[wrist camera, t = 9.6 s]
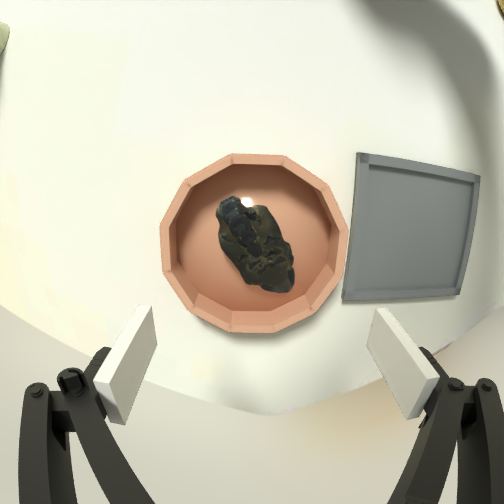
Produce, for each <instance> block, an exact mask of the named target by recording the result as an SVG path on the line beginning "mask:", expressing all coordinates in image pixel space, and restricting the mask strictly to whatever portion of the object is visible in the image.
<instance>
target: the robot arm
mask: <svg viewBox="0 0 504 504" xmlns="http://www.w3.org/2000/svg"><path fill="white" fill-rule="evenodd" d="M156 346H157V340H156V334H155V327H154V321H153V314H152V306H148V305H139V306H138V307H137V309H136V311H135V312H134V314H133V315H132V317H131V318H130V320H129V322H128V323H127V325H126V326H125V328H124V329H123V331H122V333H121V334H120V336H119V337H118V339H117V341H116V342H115V344H114V346H113V347H112V348H109V347H103V348H102V349H100V350H99V351H98V352H97V353H96V354H95V356H94V357H93V360H91V362H90V364H89V365H88V367H87V368H86V370H85V371H84V373H83V371H82V370H80V369H78V368H67V369H65V370H63V371H62V372H60V373H59V374H58V376H57V382H58V385H59V387H60V389H61V391H50V390H49V388H48V387H47V385H46V384H44V383H33V384H32V385H30V386H28V387H27V389H26V391H25V395H24V401H23V408H22V418H21V427H20V439H19V462H18V465H19V466H18V474H19V475H18V478H19V479H18V481H19V503H20V504H78V503H77V498H76V493H75V487H74V480H73V473H72V465H71V455H70V443H69V432H76V433H77V435H78V438H79V440H80V443H81V445H82V448H83V450H84V452H85V455H86V457H87V459H88V461H89V464H90V466H91V468H92V470H93V472H94V474H95V476H96V478H97V480H98V482H99V484H100V486H101V488H102V490H103V491H104V493H105V495H106V497H107V499H108V501H109V502H110V504H155V503H154V501H153V500H152V499H151V497H150V496H149V494H148V493H147V492H146V490H145V489H144V487H143V486H142V484H141V483H140V481H139V480H138V478H137V477H136V475H135V473H134V472H133V470H132V469H131V467H130V466H129V464H128V462H127V460H126V459H125V457H124V455H123V454H122V452H121V450H120V448H119V447H118V445H117V443H116V441H115V440H114V438H113V436H112V434H111V432H110V430H109V428H108V426H107V424H106V422H105V418H106V415H107V416H108V418H109V420H110V422H112V423H116V424H121V425H125V424H126V421H127V419H128V416H129V413H130V411H131V408H132V406H133V403H134V401H135V398H136V395H137V393H138V390H139V388H140V385H141V383H142V380H143V378H144V375H145V373H146V370H147V368H148V366H149V363H150V361H151V358H152V356H153V353H154V351H155V349H156ZM366 346H367V348H368V350H369V351H370V353H371V355H372V357H373V358H374V360H375V362H376V364H377V366H378V367H379V369H380V371H381V373H382V375H383V377H384V378H385V380H386V382H387V384H388V386H389V388H390V389H391V391H392V393H393V395H394V397H395V399H396V401H397V403H398V405H399V407H400V408H401V410H402V412H403V414H404V416H405V418H406V420H409V419H413V418H417V417H419V416H420V414H421V412H422V411H423V409H424V410H425V412H426V416H425V417H424V419H423V421H422V423H421V424H420V426H419V428H420V431H419V434H418V436H417V439H416V442H415V444H414V447H413V449H412V452H411V455H410V457H409V459H408V461H407V464H406V466H405V468H404V471H403V473H402V475H401V477H400V479H399V482H398V483H397V485H396V488H395V490H394V491H393V493H392V495H391V498H390V499H389V501H388V503H387V504H438V502H439V499H440V496H441V493H442V490H443V488H444V485H445V481H446V478H447V475H448V472H449V468H450V465H451V461H452V457H453V454H454V449H455V446H456V441H457V445H458V488H457V504H504V412H503V408H502V404H501V400H500V396H499V393H498V390H497V386H496V384H495V383H494V382H493V381H492V380H490V379H487V378H481V379H479V380H478V382H477V384H476V385H475V386H465V385H464V383H463V382H462V381H461V380H458V379H457V378H449V376H448V375H447V374H446V373H445V371H444V370H443V369H442V367H441V366H440V365H439V363H437V361H436V359H435V358H434V357H433V356H432V354H431V353H430V352H429V351H428V350H426V349H425V348H423V347H417V345H416V344H415V343H414V341H413V340H412V339H411V338H410V336H409V335H408V334H407V333H406V331H405V330H404V329H403V328H402V326H401V325H400V324H399V323H398V321H397V320H396V319H395V318H394V316H393V315H392V314H391V313H390V311H389V310H388V309H387V308H376V309H375V313H374V318H373V322H372V326H371V330H370V334H369V337H368V341H367V345H366Z"/></svg>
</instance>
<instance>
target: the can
mask: <svg viewBox="0 0 504 504" xmlns="http://www.w3.org/2000/svg"><path fill="white" fill-rule="evenodd" d="M8 36H9V26H8V25H7V24H6V23H2V22H0V55H1V53H2V51H3V49H4V47H5V45H6V43H7V40H8Z"/></svg>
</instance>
